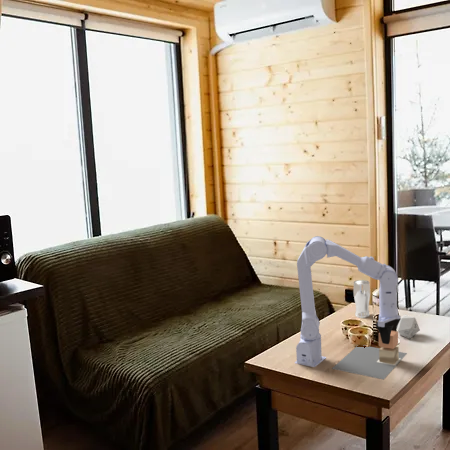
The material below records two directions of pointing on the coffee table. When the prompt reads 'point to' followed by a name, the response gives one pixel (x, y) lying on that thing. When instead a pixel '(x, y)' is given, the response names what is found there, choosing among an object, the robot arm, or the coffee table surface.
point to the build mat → (366, 363)
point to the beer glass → (362, 298)
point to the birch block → (388, 355)
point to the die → (408, 326)
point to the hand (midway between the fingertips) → (388, 340)
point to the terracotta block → (393, 340)
